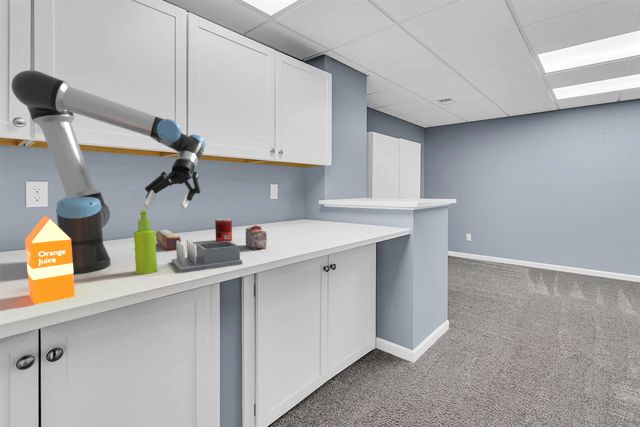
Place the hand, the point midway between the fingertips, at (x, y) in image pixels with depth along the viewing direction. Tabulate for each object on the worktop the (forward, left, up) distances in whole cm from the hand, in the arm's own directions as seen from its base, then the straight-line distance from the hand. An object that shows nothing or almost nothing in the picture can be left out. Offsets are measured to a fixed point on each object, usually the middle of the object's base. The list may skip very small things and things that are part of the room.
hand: (164, 206), depth 110 cm
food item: (+38, +11, -21) cm, 45 cm away
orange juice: (-29, -20, -21) cm, 41 cm away
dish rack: (+12, -7, -20) cm, 25 cm away
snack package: (+6, +34, -21) cm, 40 cm away
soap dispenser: (-7, -8, -20) cm, 23 cm away
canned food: (+31, +34, -21) cm, 50 cm away
